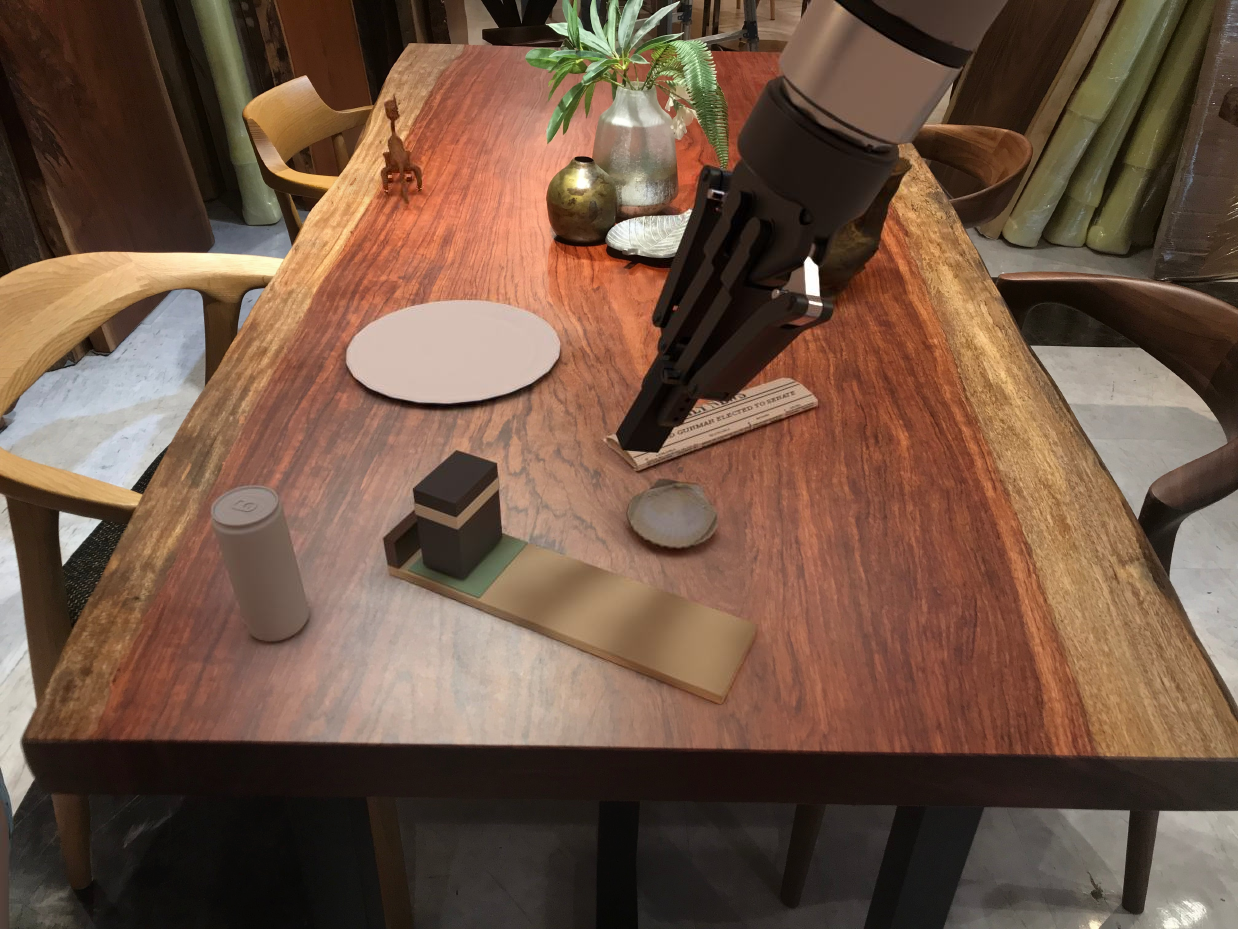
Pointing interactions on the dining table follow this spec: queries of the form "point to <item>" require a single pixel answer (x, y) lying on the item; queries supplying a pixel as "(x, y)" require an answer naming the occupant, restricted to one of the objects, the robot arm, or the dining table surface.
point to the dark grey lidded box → (458, 513)
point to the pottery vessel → (859, 239)
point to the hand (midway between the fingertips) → (636, 443)
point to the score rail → (590, 610)
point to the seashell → (673, 514)
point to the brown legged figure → (397, 155)
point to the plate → (453, 352)
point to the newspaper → (725, 420)
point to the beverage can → (260, 561)
